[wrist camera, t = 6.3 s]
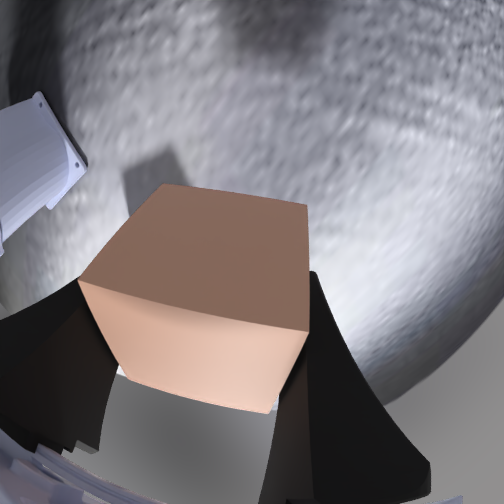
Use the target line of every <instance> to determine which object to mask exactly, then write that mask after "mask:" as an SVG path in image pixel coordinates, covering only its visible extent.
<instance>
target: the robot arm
mask: <svg viewBox="0 0 504 504" xmlns="http://www.w3.org/2000/svg"><path fill="white" fill-rule="evenodd" d="M78 163H79V165H78ZM86 171H87V167H86V165H85V163H84V162H83V160H82V159H81V157H80V156H79V154H78V153H77V151H76V150H75V148H74V146H73V145H72V143H71V142H70V140H69V138H68V137H67V135H66V134H65V132H64V130H63V129H62V127H61V125H60V124H59V122H58V120H57V119H56V117H55V115H54V114H53V112H52V110H51V108H50V107H49V105H48V103H47V101H46V100H45V98H44V96H43V94H42V92H41V91H38V92H36V93H35V94H34V96H33V97H32V98H31V99H28V100H25V101H23V102H20V103H17V104H15V105H12V106H10V107H7V108H5V109H3V110H0V256H1V255H2V254H3V253H4V250H3V247H2V243H3V242H4V241H5V240H6V239H7V238H8V237H9V236H10V235H11V234H12V233H13V232H14V231H15V230H16V229H17V228H18V227H20V226H21V225H22V224H23V223H24V222H25V221H26V220H27V219H28V218H30V217H31V216H32V215H33V214H34V213H35V212H37V211H38V210H39V209H40V208H41V207H42V206H44V205H46V206H47V208H48V209H52V208H53V207H54V206H55V205H56V204H57V203H58V202H59V200H60V199H61V198H62V197H63V196H64V195H65V194H66V193H67V191H68V190H69V189H70V188H71V187H72V186H73V185H74V184H75V183H76V182H77V181H78V180H79V179H80V178H81V177H82V176H83V175H84V174H85V173H86ZM79 277H80V276H79ZM79 277H78V278H79ZM78 278H76V279H74V280H73V281H72V282H70V283H69V284H67V285H66V286H64V287H63V288H61V289H59V290H58V291H56V292H54V293H53V294H51V295H49V296H48V297H46V298H44V299H42V300H41V301H39V302H37V303H35V304H33V305H31V306H29V307H27V308H25V309H23V310H21V311H19V312H17V313H15V314H13V315H11V316H9V317H6V318H4V319H2V320H0V504H106V503H103V502H101V501H99V500H97V499H94V498H92V497H90V496H88V495H86V494H84V490H85V491H87V492H89V493H91V494H92V495H94V496H96V497H98V498H100V499H102V500H104V501H107V502H109V503H111V504H167V503H163V502H161V501H158V500H155V499H152V498H149V497H146V496H143V495H140V494H138V493H135V492H133V491H130V490H128V489H125V488H123V487H120V486H118V485H116V484H114V483H112V482H109V481H107V480H105V479H103V478H101V477H99V476H97V475H95V474H93V473H91V472H89V471H87V470H85V469H84V468H82V467H80V466H78V465H76V464H74V463H73V462H71V461H69V460H68V459H66V458H64V457H63V456H61V454H62V451H63V448H64V449H65V450H67V451H69V452H70V453H72V452H73V450H74V447H77V448H79V449H81V450H84V451H86V452H88V453H90V454H93V453H96V452H98V451H99V443H100V436H101V429H102V423H103V419H104V414H105V409H106V405H107V401H108V397H109V394H110V390H111V387H112V383H113V381H114V378H115V374H116V372H117V369H118V366H119V363H118V361H117V360H116V358H115V356H114V354H113V353H112V351H111V349H110V347H109V345H108V344H107V342H106V340H105V338H104V336H103V334H102V332H101V330H100V328H99V326H98V324H97V322H96V320H95V318H94V316H93V314H92V312H91V310H90V308H89V306H88V303H87V301H86V299H85V297H84V294H83V292H82V290H81V287H80V285H79V283H78ZM309 285H310V306H309V333H308V336H307V338H306V340H305V342H304V344H303V347H302V349H301V351H300V353H299V355H298V357H297V359H296V361H295V363H294V365H293V367H292V369H291V371H290V373H289V375H288V377H287V379H286V381H285V383H284V385H283V387H282V389H281V391H280V393H279V403H278V410H277V416H276V423H275V428H274V434H273V439H272V445H271V450H270V455H269V460H268V465H267V469H266V473H265V478H264V482H263V486H262V490H261V494H260V498H259V502H258V504H400V503H404V502H408V501H412V500H416V499H419V498H422V497H425V496H427V495H429V494H430V492H431V469H430V462H429V461H428V460H427V459H426V458H425V457H424V456H423V455H422V454H421V453H420V452H419V451H418V450H417V448H416V447H415V446H414V445H413V444H412V443H411V442H410V441H409V440H408V439H407V437H406V436H405V435H404V433H403V432H402V431H401V430H400V428H399V427H398V426H397V425H396V423H395V422H394V421H393V420H392V418H391V417H390V415H389V414H388V413H387V411H386V410H385V408H384V407H383V405H382V404H381V403H380V401H379V400H378V398H377V397H376V396H375V394H374V392H373V391H372V389H371V388H370V386H369V384H368V383H367V381H366V380H365V378H364V376H363V375H362V373H361V371H360V369H359V368H358V366H357V364H356V362H355V361H354V359H353V357H352V355H351V353H350V351H349V349H348V347H347V345H346V343H345V341H344V339H343V337H342V335H341V333H340V331H339V328H338V326H337V324H336V322H335V319H334V317H333V315H332V313H331V310H330V308H329V305H328V303H327V300H326V298H325V295H324V293H323V290H322V287H321V285H320V282H319V279H318V276H317V274H316V272H314V271H309ZM42 464H43V465H44V466H46V467H48V468H49V469H47V468H45V467H43V465H42ZM462 502H463V496H461V495H460V496H456V497H453V498H448V499H446V500H442V501H437V502H432V503H425V504H462Z"/></svg>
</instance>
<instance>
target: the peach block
mask: <svg viewBox="0 0 504 504" xmlns="http://www.w3.org/2000/svg"><path fill="white" fill-rule="evenodd" d="M78 283H79V285H80V287H81V290H82V292H83V294H84V297H85V299H86V301H87V303H88V306H89V308H90V310H91V312H92V314H93V316H94V318H95V320H96V322H97V324H98V326H99V328H100V330H101V332H102V334H103V336H104V338H105V340H106V342H107V344H108V345H109V347H110V349H111V351H112V353H113V354H114V356H115V358H116V360H117V361H118V363H119V365H120V366H121V368H122V370H123V371H124V373H125V375H126V376H127V378H128V379H129V380H132V381H135V382H137V383H140V384H143V385H146V386H149V387H152V388H155V389H159V390H162V391H166V392H169V393H172V394H176V395H179V396H183V397H187V398H190V399H194V400H199V401H203V402H207V403H211V404H216V405H220V406H225V407H230V408H236V409H241V410H247V411H253V412H260V413H266V414H268V413H269V412H270V410H271V408H272V406H273V404H274V402H275V401H276V399H277V397H278V395H279V393H280V391H281V389H282V387H283V385H284V383H285V381H286V379H287V377H288V375H289V373H290V371H291V369H292V367H293V365H294V363H295V361H296V359H297V357H298V355H299V353H300V351H301V349H302V347H303V344H304V342H305V340H306V338H307V336H308V333H309V306H310V285H309V235H308V210H307V205H305V204H299V203H294V202H288V201H283V200H277V199H271V198H265V197H259V196H253V195H247V194H240V193H234V192H227V191H220V190H213V189H205V188H198V187H190V186H182V185H173V184H164V183H163V184H162V185H161V186H160V187H159V188H158V189H157V190H156V191H155V192H154V193H153V194H152V195H151V196H150V197H149V198H148V199H147V200H146V201H145V202H144V203H143V204H142V205H141V206H140V207H139V208H138V209H137V210H136V211H135V212H134V213H133V214H132V216H131V217H130V218H129V219H128V220H127V221H126V222H125V223H124V224H123V225H122V227H121V228H120V229H119V230H118V231H117V232H116V233H115V234H114V236H113V237H112V238H111V239H110V240H109V241H108V243H107V244H106V245H105V246H104V247H103V248H102V250H101V251H100V252H99V253H98V254H97V256H96V257H95V258H94V259H93V261H92V262H91V263H90V264H89V266H88V267H87V268H86V269H85V271H84V272H83V273H82V274H81V276H80V277H79V278H78Z"/></svg>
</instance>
